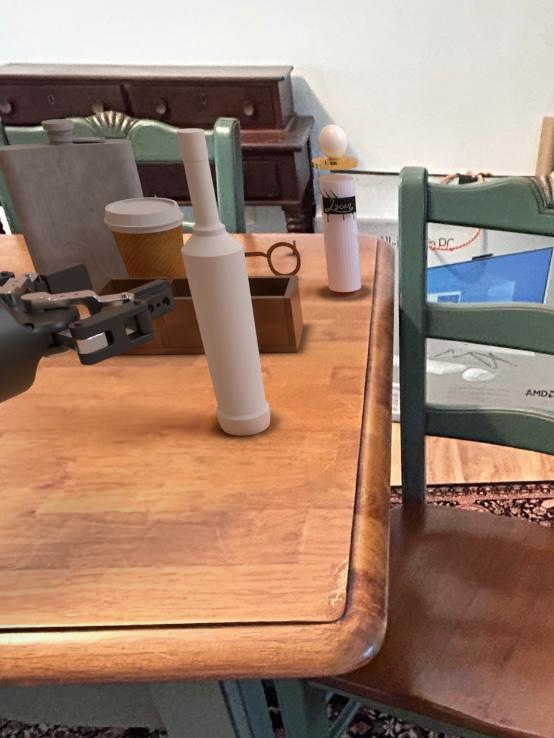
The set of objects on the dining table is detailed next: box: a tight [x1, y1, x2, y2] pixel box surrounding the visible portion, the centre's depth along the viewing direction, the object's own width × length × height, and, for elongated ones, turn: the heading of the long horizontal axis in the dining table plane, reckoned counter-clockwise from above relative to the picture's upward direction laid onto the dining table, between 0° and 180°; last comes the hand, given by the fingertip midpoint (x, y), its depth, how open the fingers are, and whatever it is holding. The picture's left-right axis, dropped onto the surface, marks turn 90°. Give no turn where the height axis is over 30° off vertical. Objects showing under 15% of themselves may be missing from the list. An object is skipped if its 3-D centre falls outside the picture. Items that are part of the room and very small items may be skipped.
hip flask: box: [0, 118, 145, 292], centre depth 97 cm, size 16×4×20 cm, turn 114°
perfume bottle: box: [311, 123, 362, 293], centre depth 97 cm, size 6×6×20 cm
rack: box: [87, 274, 305, 356], centre depth 87 cm, size 23×8×6 cm, turn 93°
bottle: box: [176, 127, 271, 437], centre depth 65 cm, size 5×5×25 cm
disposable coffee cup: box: [104, 196, 187, 277], centre depth 95 cm, size 10×10×12 cm
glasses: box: [244, 239, 302, 276], centre depth 109 cm, size 13×13×5 cm
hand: (126, 284), depth 56 cm, fingers open, 8 cm apart
